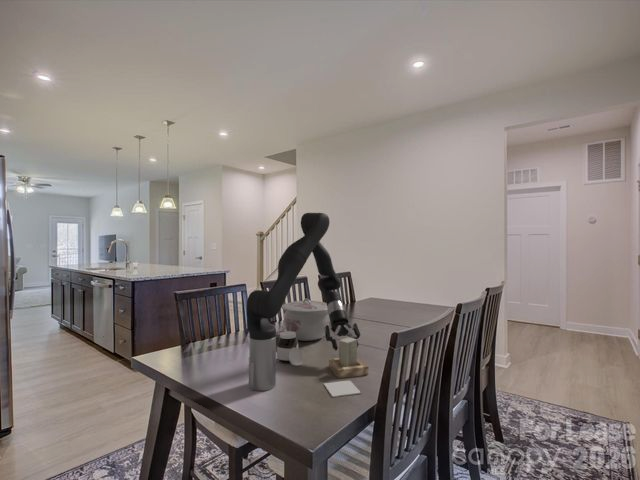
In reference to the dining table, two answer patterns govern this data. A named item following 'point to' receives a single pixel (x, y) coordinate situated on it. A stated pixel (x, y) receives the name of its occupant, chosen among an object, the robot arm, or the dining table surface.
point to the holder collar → (348, 368)
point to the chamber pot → (306, 319)
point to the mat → (341, 388)
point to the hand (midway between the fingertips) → (346, 348)
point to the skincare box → (348, 352)
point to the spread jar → (289, 349)
